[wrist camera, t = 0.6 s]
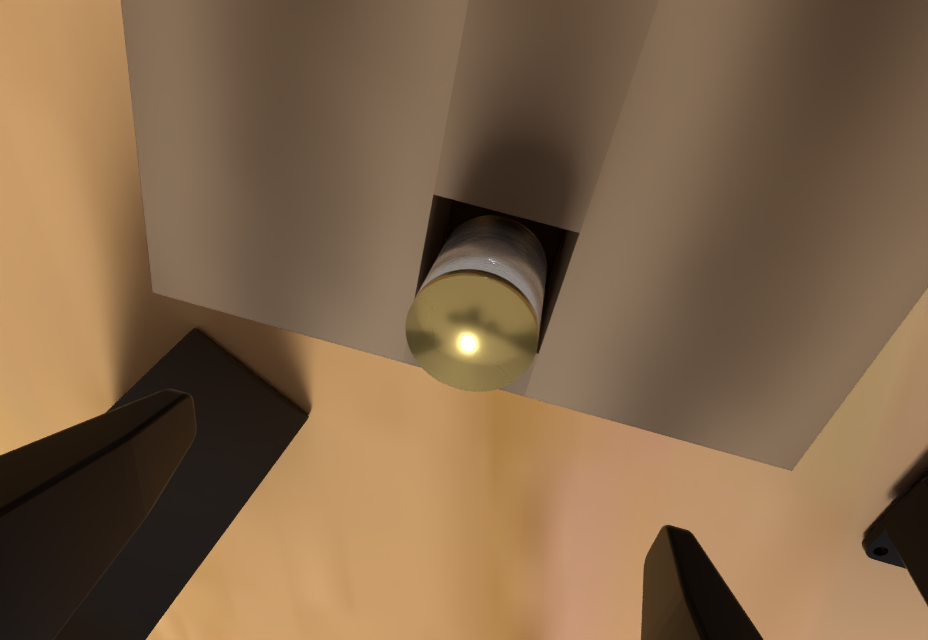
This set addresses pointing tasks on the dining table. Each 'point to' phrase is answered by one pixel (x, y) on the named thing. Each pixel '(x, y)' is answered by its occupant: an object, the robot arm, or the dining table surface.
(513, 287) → the brass capped peg
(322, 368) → the dining table surface
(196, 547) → the phone stand
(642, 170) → the walnut block
